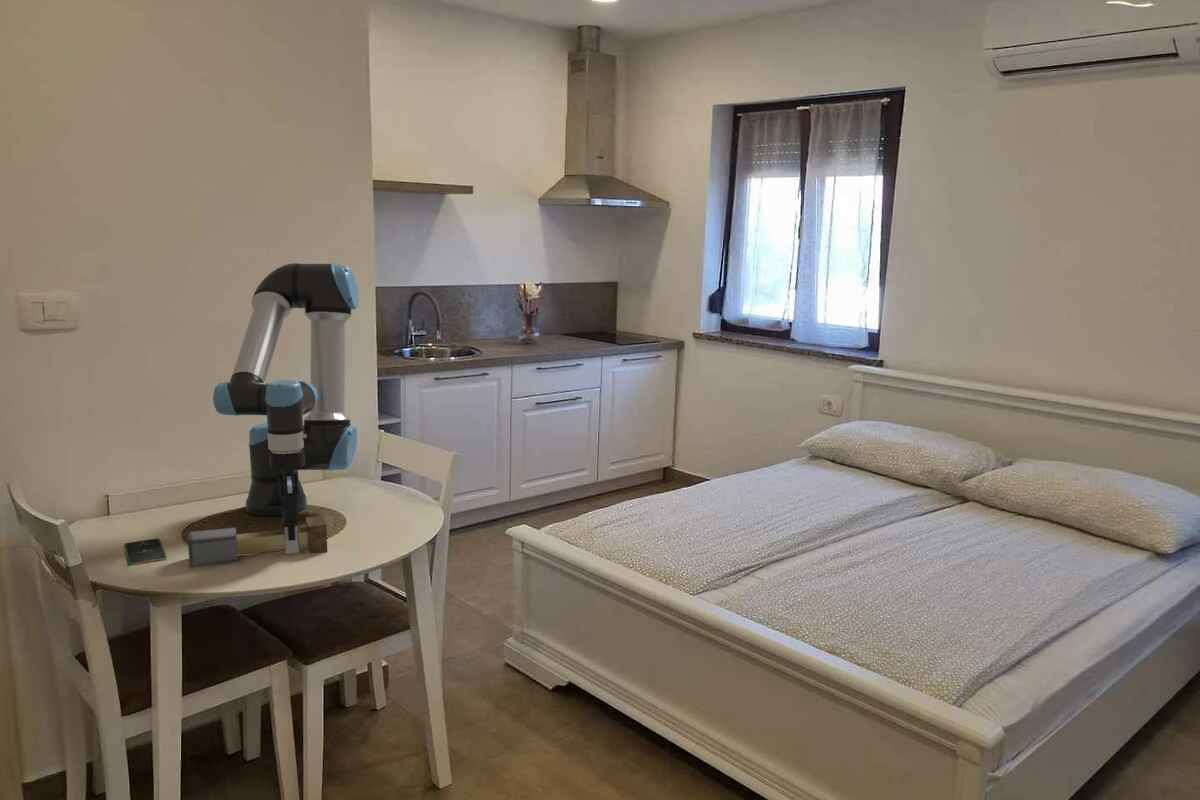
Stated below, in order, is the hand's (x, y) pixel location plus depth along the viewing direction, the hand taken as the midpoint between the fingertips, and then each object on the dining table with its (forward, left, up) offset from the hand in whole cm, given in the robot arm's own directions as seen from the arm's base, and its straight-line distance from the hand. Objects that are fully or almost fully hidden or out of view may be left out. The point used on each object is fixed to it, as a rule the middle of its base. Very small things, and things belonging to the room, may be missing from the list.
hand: (291, 549), depth 196 cm
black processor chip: (-28, -17, -1) cm, 33 cm away
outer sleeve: (-10, -12, 0) cm, 16 cm away
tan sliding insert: (-2, -3, +1) cm, 4 cm away
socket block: (+4, +4, 0) cm, 6 cm away
